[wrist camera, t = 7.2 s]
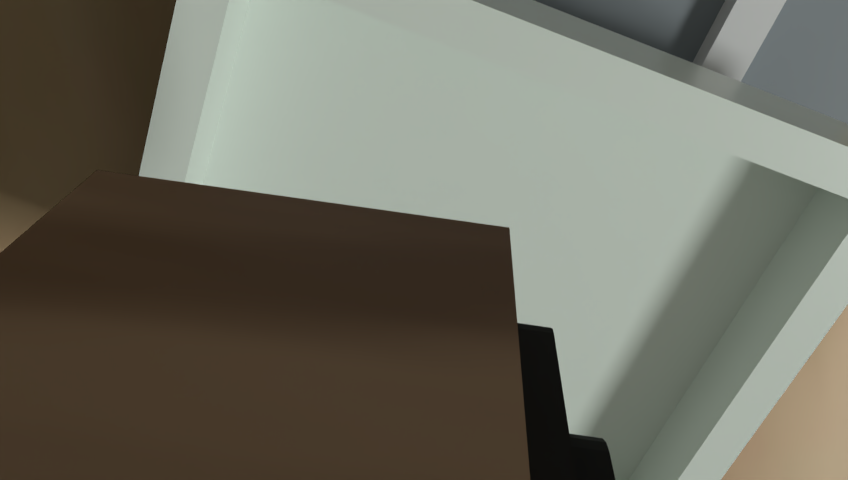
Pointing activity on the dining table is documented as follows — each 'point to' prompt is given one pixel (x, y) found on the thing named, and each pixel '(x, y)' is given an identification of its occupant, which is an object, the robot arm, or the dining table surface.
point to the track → (742, 41)
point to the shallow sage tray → (546, 189)
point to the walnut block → (256, 341)
